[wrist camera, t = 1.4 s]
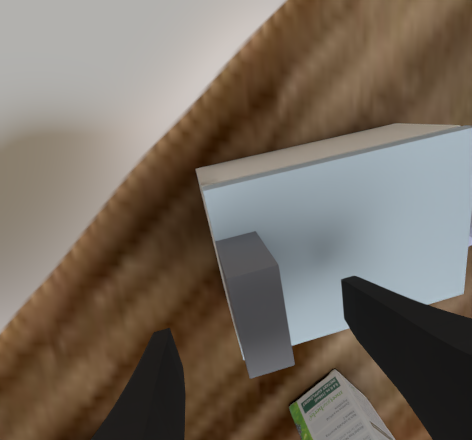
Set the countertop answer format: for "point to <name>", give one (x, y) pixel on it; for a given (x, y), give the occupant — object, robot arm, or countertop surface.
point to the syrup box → (337, 413)
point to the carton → (308, 157)
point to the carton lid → (340, 237)
